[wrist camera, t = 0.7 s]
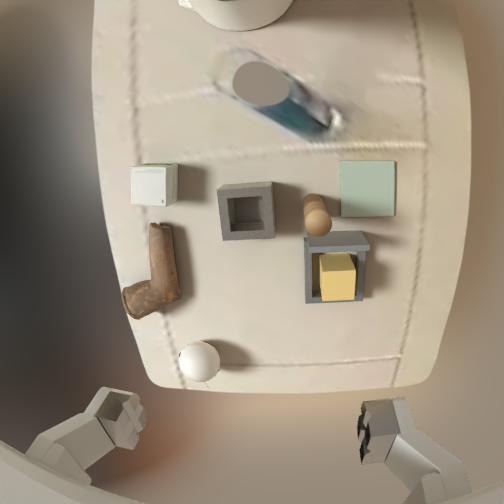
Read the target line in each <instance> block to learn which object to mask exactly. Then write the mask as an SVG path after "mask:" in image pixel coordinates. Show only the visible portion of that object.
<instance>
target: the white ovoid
mask: <svg viewBox="0 0 504 504" xmlns="http://www.w3.org/2000/svg"><path fill="white" fill-rule="evenodd" d="M179 365H180V369H181V371H182V373H183V374H184V375H185V376H186V377H187V378H189V379H190V380H193V381H196V382H205V381H208V380H210V379H211V378H213V377H214V376H215V375H216V374H217V372H218V371H219V368H220V357H219V354H218V352H217V350H216V349H215V348H214V347H213V346H211V345H210V344H208V343H206V342H201V341H199V342H193V343H191V344H188V345H187V346H186V347H185V348H184V349H183V350H182V351H181V353H180V355H179ZM206 385H207V384H206ZM208 388H209V387H208Z"/></svg>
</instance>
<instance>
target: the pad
mask: <svg viewBox="0 0 504 504" xmlns="http://www.w3.org/2000/svg"><path fill="white" fill-rule="evenodd" d="M339 163H340V192H341V217H371V216H394V188H395V168H394V161H339Z"/></svg>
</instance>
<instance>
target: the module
mask: <svg viewBox="0 0 504 504" xmlns="http://www.w3.org/2000/svg"><path fill="white" fill-rule="evenodd" d="M355 278H356V269H355V267H354V265H353V262H352V260H351V257H350V255H349V253H347V254H323V255H319V282H320V288H321V295H322V301H337V300H354V294H355Z"/></svg>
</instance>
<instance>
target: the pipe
mask: <svg viewBox="0 0 504 504" xmlns="http://www.w3.org/2000/svg"><path fill="white" fill-rule="evenodd" d="M149 251H150V267H151V280H146V281H141V282H139V283H136V284H134V285H132V286H130V287H125V288H124V289H123V291H122V301H123V305H124V308H125V310H126V312H127V313H128V314H129V315H130V316H131V317H132V318H134V319H140V318H143V317H144V316H147V315H149V314H151V313H153V312H155V311H156V310H158V309H160V308H162V307H163V306H165V305H166V304H169V303H170V302H172V301H175V300H178V299H180V298H181V295H182V294H181V292H180V289H179V286H178V279H177V271H176V265H175V258H174V248H173V240H172V232H171V227H170V226H167V225H158V224H156V223H151V224H150V226H149Z"/></svg>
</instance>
